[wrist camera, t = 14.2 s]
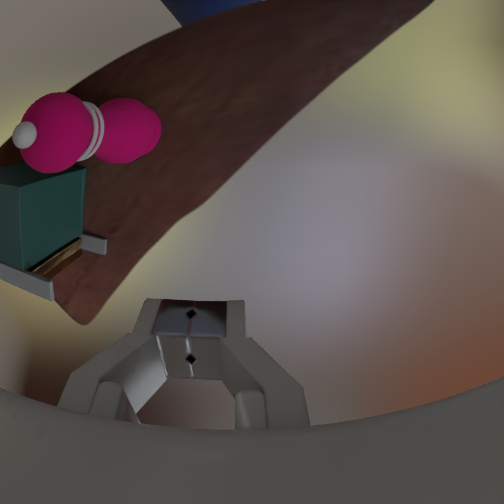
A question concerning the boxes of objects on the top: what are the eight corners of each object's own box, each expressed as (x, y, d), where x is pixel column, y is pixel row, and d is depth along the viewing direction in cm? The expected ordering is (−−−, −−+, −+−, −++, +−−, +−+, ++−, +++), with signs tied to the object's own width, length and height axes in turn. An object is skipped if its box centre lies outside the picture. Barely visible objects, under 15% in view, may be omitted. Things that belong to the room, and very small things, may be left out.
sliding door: (45, 227, 35) (-7, 257, 24) (82, 238, 35) (30, 273, 25) (46, 244, 36) (-4, 276, 25) (82, 254, 36) (33, 293, 26)
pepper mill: (176, 140, 32) (72, 147, 13) (127, 171, 33) (8, 213, 14) (149, 90, 29) (35, 55, 11) (102, 123, 31) (-23, 129, 12)
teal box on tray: (31, 160, 32) (-35, 176, 20) (113, 172, 33) (46, 193, 21) (30, 231, 36) (-28, 265, 24) (106, 253, 37) (51, 301, 25)
